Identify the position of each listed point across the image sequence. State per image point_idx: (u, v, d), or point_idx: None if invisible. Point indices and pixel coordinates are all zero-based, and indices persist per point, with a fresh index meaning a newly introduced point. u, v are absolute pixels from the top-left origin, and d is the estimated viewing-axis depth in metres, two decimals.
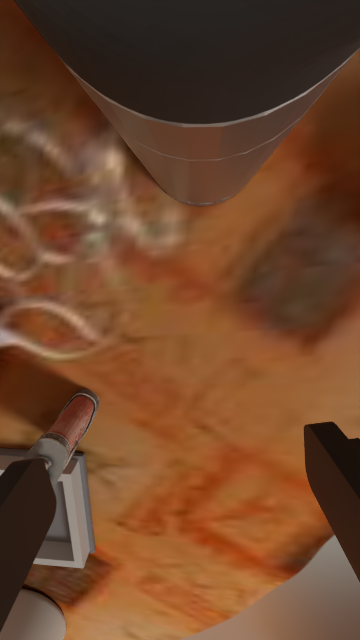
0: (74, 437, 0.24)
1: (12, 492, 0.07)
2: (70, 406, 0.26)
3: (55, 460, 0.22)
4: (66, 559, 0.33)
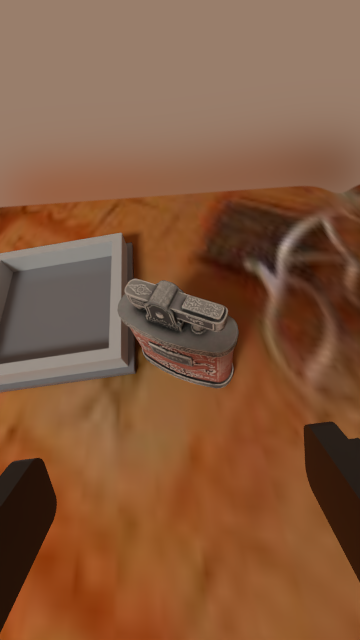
0: (217, 361, 0.17)
1: (12, 492, 0.07)
2: None
3: (203, 339, 0.16)
4: None
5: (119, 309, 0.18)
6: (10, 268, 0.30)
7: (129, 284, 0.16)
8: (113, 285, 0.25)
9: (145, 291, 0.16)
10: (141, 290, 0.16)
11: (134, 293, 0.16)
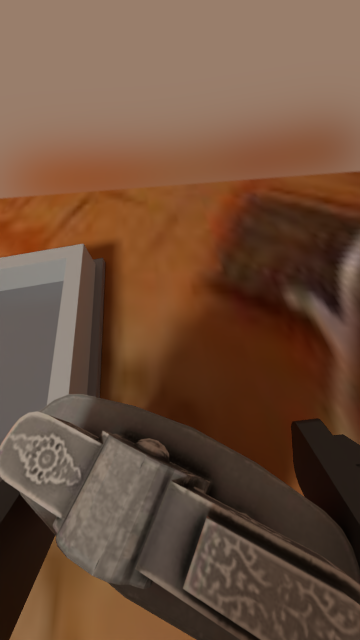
0: None
1: None
2: None
3: None
4: None
5: None
6: None
7: (14, 434, 0.05)
8: (60, 340, 0.14)
9: (60, 470, 0.05)
10: (48, 464, 0.05)
11: (22, 474, 0.05)
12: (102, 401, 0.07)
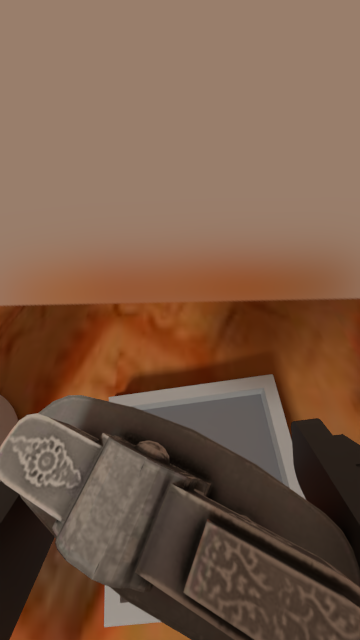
0: None
1: None
2: None
3: None
4: None
5: None
6: None
7: (14, 436, 0.05)
8: (288, 467, 0.20)
9: (59, 472, 0.05)
10: (47, 466, 0.05)
11: (22, 477, 0.05)
12: (102, 402, 0.07)
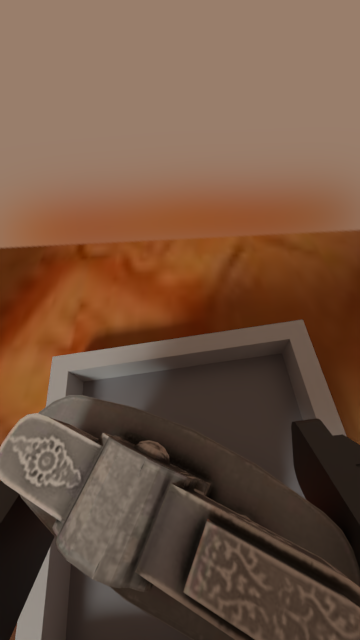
0: None
1: None
2: None
3: None
4: None
5: None
6: (81, 378, 0.16)
7: (14, 436, 0.05)
8: None
9: (60, 472, 0.05)
10: (47, 466, 0.05)
11: (22, 476, 0.05)
12: (102, 402, 0.07)
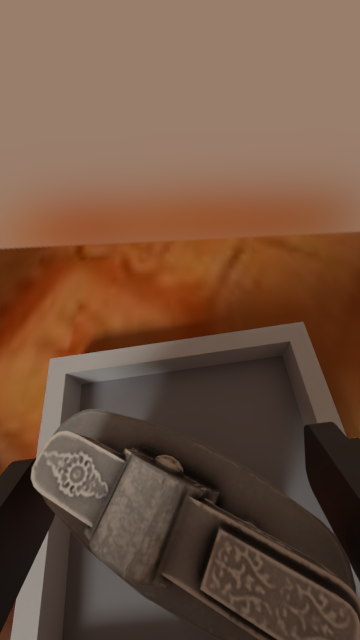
0: None
1: (12, 492, 0.07)
2: None
3: None
4: None
5: None
6: (78, 380, 0.16)
7: (46, 451, 0.06)
8: None
9: (89, 484, 0.05)
10: (78, 478, 0.05)
11: (56, 487, 0.05)
12: (118, 416, 0.08)
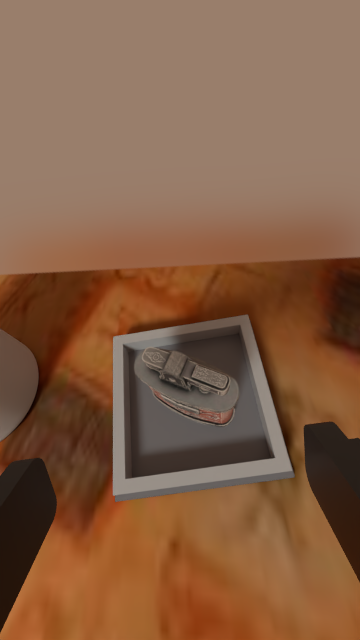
0: (221, 413, 0.20)
1: (12, 492, 0.07)
2: None
3: (210, 397, 0.19)
4: (124, 464, 0.23)
5: (135, 368, 0.21)
6: (127, 349, 0.29)
7: (145, 352, 0.19)
8: (257, 380, 0.25)
9: (160, 359, 0.19)
10: (156, 358, 0.19)
11: (150, 360, 0.19)
12: (161, 349, 0.21)
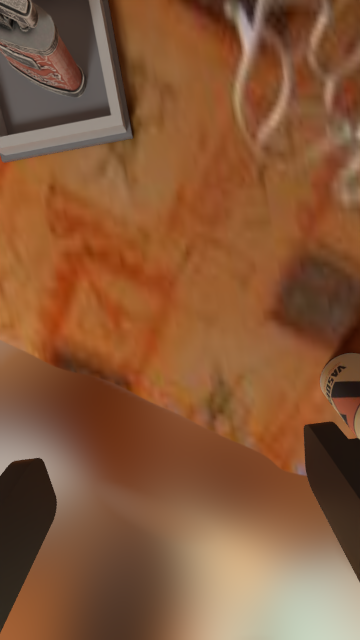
0: (52, 62, 0.24)
1: (12, 492, 0.07)
2: (73, 59, 0.26)
3: (30, 36, 0.22)
4: None
5: None
6: None
7: None
8: (99, 40, 0.26)
9: None
10: None
11: None
12: None
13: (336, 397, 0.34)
